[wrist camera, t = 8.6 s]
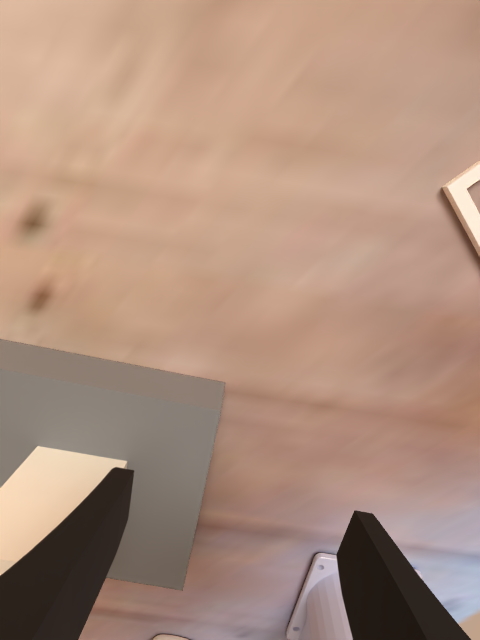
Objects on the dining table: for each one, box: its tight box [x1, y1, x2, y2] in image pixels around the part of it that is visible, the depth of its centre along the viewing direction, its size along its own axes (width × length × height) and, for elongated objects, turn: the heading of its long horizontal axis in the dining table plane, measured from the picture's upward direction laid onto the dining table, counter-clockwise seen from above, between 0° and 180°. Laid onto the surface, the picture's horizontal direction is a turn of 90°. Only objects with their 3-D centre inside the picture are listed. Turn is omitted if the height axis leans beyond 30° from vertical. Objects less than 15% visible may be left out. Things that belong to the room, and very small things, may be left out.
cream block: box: [0, 446, 127, 575], centre depth 17 cm, size 5×5×6 cm
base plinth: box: [0, 339, 225, 591], centre depth 21 cm, size 14×14×3 cm
